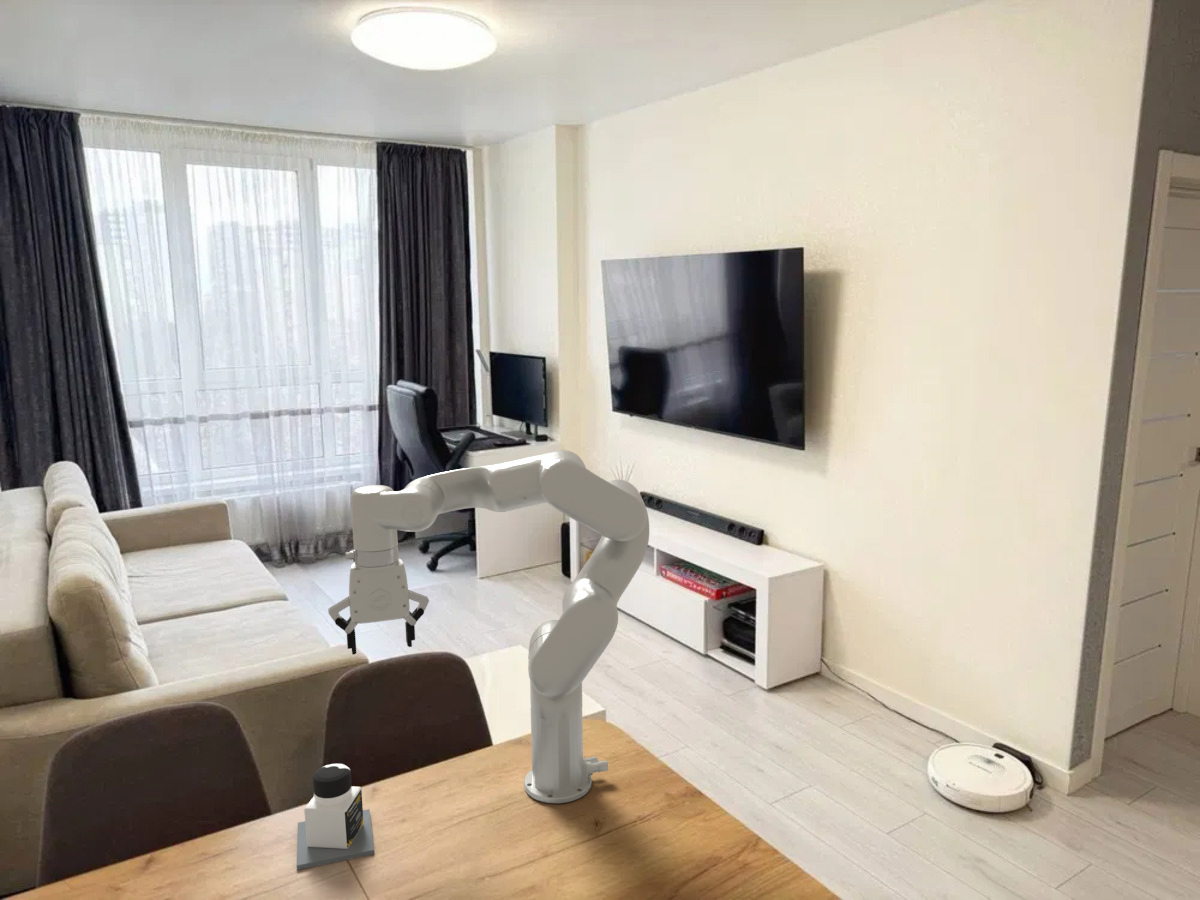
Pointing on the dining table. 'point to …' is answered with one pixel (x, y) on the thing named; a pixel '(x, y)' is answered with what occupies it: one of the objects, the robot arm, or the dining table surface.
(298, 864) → the slate mat
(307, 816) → the medicine bottle
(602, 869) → the dining table surface
